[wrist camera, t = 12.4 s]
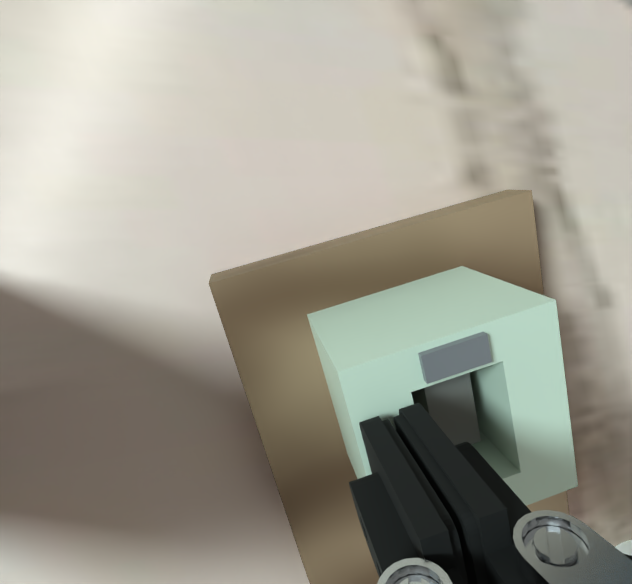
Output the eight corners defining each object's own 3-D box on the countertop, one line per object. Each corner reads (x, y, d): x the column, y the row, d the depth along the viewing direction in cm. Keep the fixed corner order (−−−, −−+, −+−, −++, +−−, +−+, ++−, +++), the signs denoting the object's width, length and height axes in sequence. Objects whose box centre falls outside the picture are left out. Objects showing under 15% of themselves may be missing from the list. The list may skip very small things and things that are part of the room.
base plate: (557, 571, 23) (653, 687, 18) (338, 656, 22) (370, 807, 16) (507, 189, 17) (624, 192, 12) (211, 274, 16) (198, 318, 11)
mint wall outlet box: (486, 405, 18) (583, 490, 13) (347, 453, 17) (391, 563, 12) (462, 265, 16) (561, 302, 11) (307, 314, 16) (339, 375, 11)
